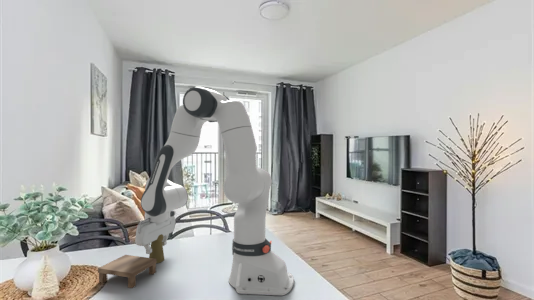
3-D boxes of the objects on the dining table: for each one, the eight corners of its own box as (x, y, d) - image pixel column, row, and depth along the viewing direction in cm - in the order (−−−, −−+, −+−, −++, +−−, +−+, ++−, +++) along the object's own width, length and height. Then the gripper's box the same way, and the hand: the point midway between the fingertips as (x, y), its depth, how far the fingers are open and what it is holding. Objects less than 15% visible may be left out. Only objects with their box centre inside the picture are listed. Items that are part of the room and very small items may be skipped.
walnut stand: (156, 272, 99) (156, 258, 99) (132, 288, 87) (132, 273, 87) (125, 267, 102) (125, 254, 102) (97, 282, 91) (98, 268, 91)
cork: (158, 264, 106) (158, 236, 105) (145, 262, 107) (145, 235, 107) (167, 258, 111) (167, 231, 111) (154, 256, 113) (154, 230, 113)
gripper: (145, 222, 98) (145, 260, 98) (177, 210, 118) (177, 241, 118) (131, 221, 100) (131, 258, 100) (165, 209, 120) (165, 240, 120)
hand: (156, 249), depth 109 cm, fingers open, 8 cm apart
